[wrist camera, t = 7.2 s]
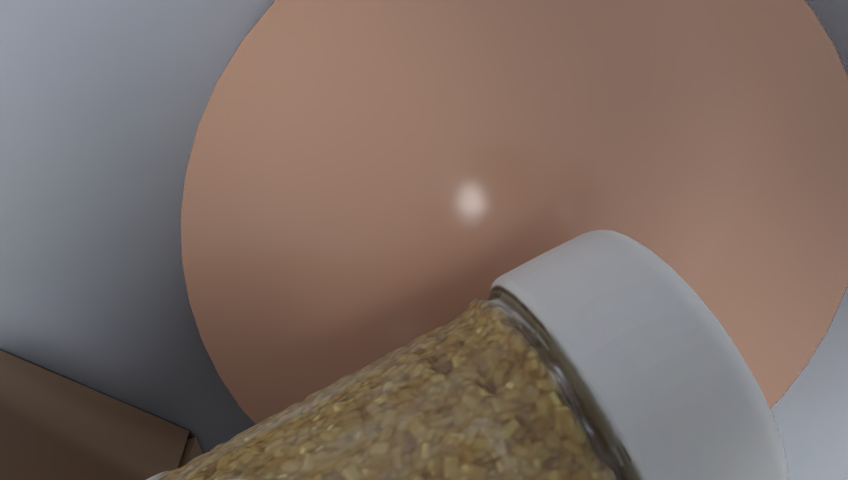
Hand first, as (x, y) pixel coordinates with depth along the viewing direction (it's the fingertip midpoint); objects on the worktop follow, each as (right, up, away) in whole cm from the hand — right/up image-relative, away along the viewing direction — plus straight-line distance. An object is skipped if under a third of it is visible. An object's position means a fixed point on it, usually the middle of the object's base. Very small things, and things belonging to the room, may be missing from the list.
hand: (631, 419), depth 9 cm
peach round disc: (-1, +2, +5) cm, 6 cm away
